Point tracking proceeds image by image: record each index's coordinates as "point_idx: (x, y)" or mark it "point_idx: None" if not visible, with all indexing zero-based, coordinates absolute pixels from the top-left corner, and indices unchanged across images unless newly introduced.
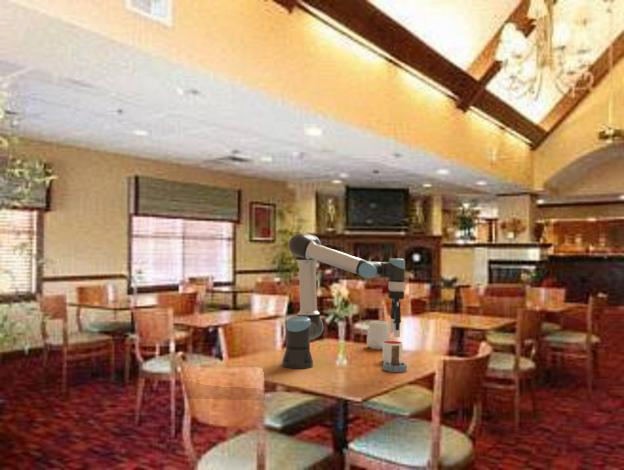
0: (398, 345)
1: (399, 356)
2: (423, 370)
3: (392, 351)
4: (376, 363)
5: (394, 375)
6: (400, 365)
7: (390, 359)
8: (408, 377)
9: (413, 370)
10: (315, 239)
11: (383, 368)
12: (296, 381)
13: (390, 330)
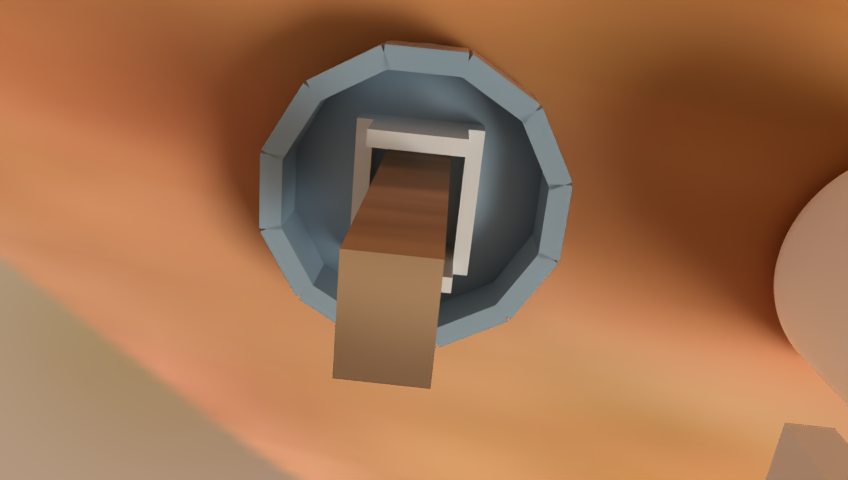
0: (394, 377)
1: (816, 367)
2: (392, 471)
3: (355, 219)
4: (831, 25)
5: (104, 111)
6: None
7: (807, 231)
8: (33, 244)
9: None
10: None
11: (420, 43)
12: None
13: (835, 463)
